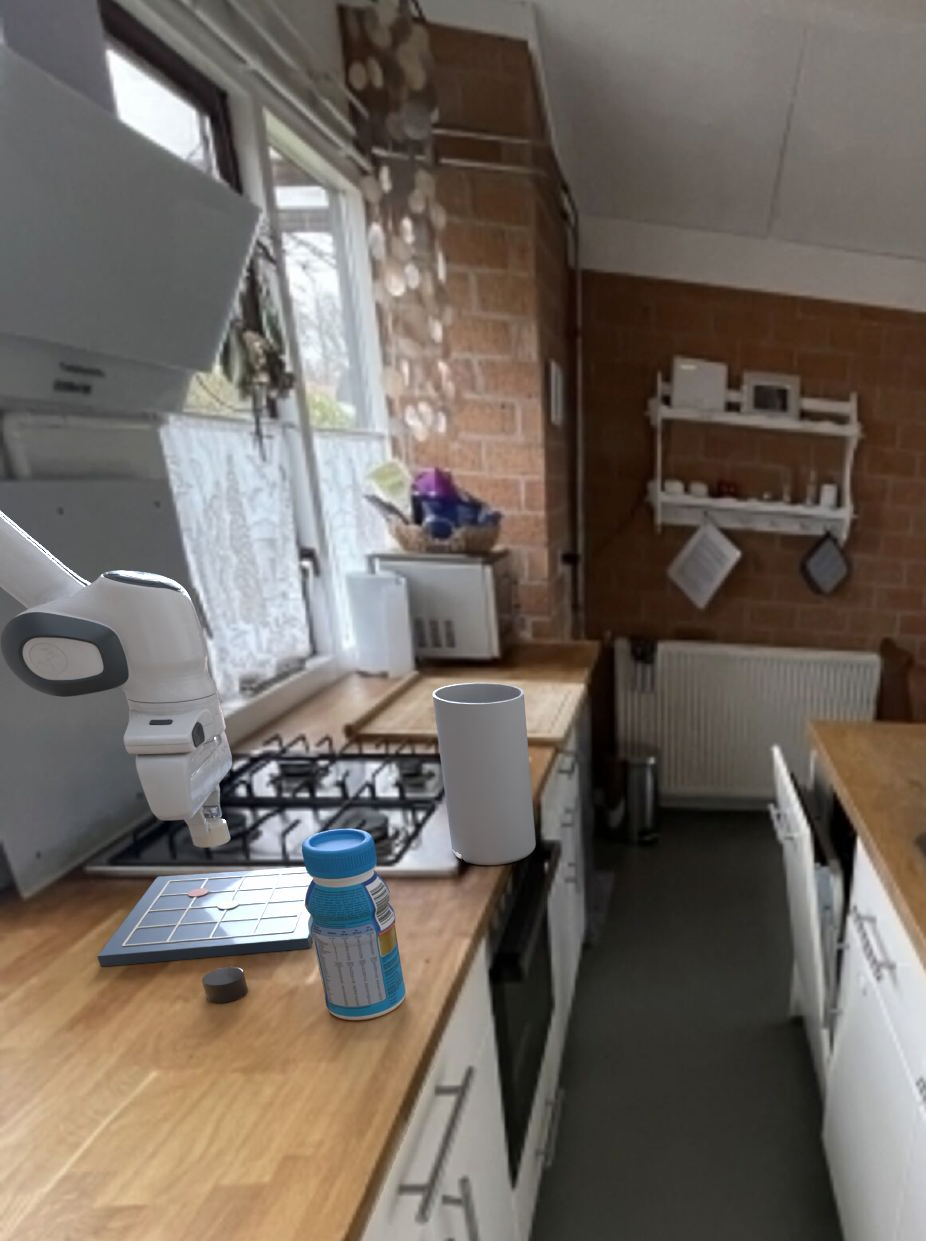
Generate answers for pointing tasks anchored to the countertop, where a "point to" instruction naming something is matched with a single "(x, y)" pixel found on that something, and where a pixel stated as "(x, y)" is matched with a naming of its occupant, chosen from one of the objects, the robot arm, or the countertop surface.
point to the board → (214, 917)
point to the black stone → (224, 984)
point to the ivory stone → (214, 834)
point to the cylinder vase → (486, 771)
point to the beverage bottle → (352, 925)
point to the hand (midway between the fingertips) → (207, 827)
